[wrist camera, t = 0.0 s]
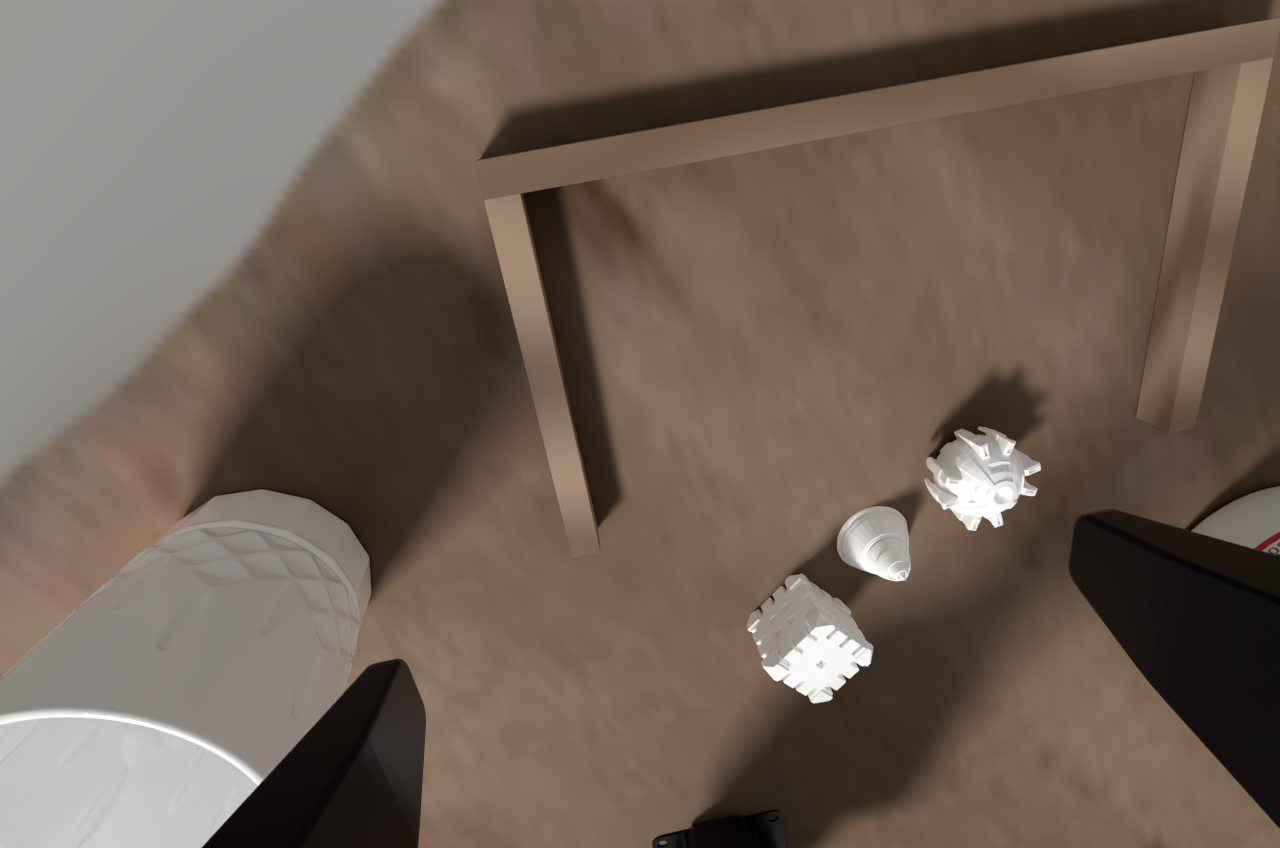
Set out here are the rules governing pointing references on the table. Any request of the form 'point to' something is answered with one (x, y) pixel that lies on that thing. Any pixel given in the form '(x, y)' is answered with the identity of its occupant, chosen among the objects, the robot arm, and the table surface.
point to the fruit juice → (1248, 521)
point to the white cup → (182, 678)
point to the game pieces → (881, 564)
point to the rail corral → (1207, 168)
